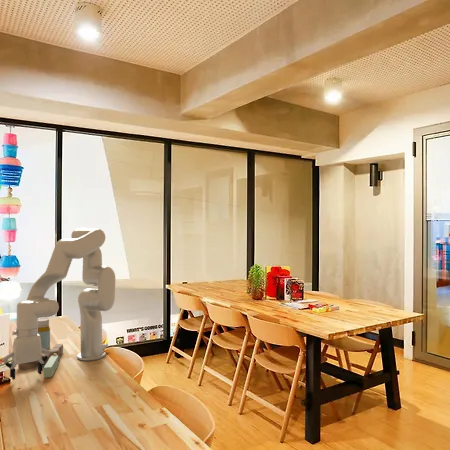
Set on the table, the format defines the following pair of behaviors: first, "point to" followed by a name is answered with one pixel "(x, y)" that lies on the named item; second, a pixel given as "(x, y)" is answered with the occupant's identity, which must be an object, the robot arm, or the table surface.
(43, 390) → the table surface
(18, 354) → the robot arm
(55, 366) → the hinged leg
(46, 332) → the bottle
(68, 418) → the table surface
